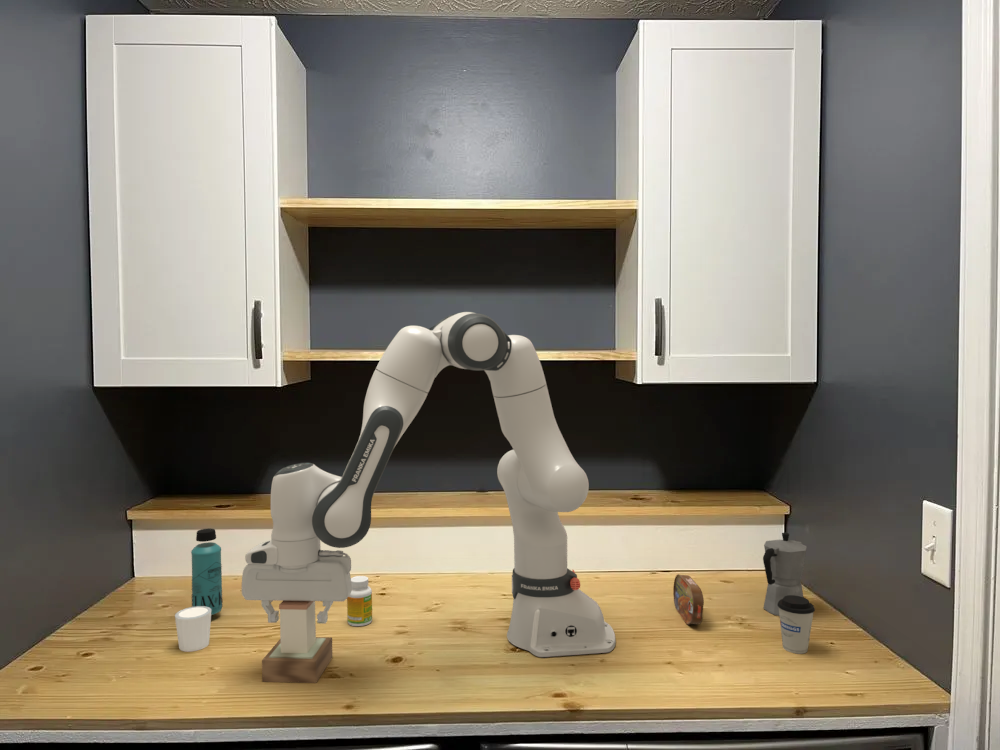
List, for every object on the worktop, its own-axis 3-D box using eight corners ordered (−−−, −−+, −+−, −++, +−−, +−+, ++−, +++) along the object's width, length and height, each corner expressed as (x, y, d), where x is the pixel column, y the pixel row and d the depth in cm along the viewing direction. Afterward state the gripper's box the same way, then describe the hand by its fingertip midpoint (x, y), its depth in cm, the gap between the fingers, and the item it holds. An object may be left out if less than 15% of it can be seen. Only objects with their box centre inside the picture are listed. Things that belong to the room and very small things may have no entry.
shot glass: (219, 640, 143) (218, 607, 142) (196, 654, 136) (195, 620, 136) (192, 636, 145) (191, 603, 144) (168, 650, 138) (167, 616, 138)
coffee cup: (795, 638, 142) (796, 591, 142) (822, 652, 136) (823, 603, 135) (768, 644, 140) (769, 596, 139) (794, 659, 133) (795, 608, 133)
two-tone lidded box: (316, 641, 132) (315, 594, 132) (307, 653, 127) (306, 605, 127) (290, 640, 133) (289, 594, 132) (280, 652, 127) (278, 604, 127)
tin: (672, 604, 161) (672, 568, 161) (685, 603, 161) (685, 568, 161) (691, 631, 146) (691, 592, 146) (705, 631, 146) (706, 592, 146)
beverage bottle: (185, 621, 152) (182, 533, 151) (205, 610, 159) (202, 525, 158) (211, 624, 151) (208, 534, 150) (229, 612, 157) (227, 526, 156)
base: (332, 657, 135) (332, 635, 135) (316, 682, 125) (315, 659, 125) (282, 656, 135) (282, 635, 135) (262, 681, 125) (261, 658, 125)
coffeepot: (779, 597, 165) (780, 523, 164) (818, 608, 158) (820, 531, 157) (744, 613, 155) (745, 535, 154) (784, 627, 148) (785, 544, 147)
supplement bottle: (366, 627, 149) (365, 583, 148) (343, 625, 150) (342, 582, 149) (376, 617, 154) (375, 575, 153) (353, 616, 155) (352, 573, 154)
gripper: (355, 545, 131) (356, 616, 132) (251, 544, 133) (252, 614, 133) (346, 556, 125) (347, 630, 126) (236, 554, 126) (238, 628, 127)
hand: (297, 622), depth 130 cm, fingers open, 8 cm apart
